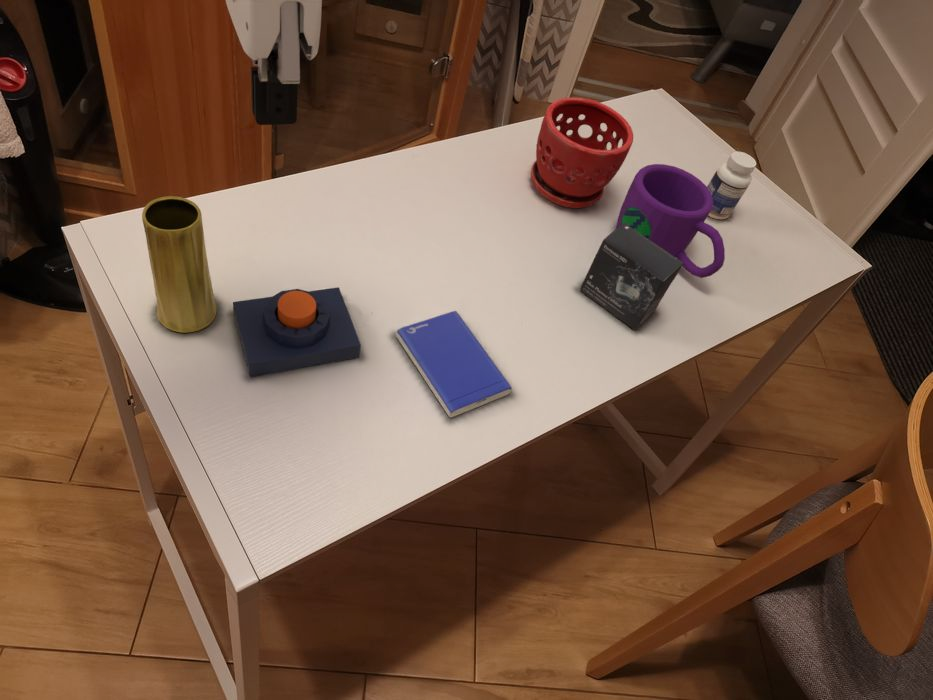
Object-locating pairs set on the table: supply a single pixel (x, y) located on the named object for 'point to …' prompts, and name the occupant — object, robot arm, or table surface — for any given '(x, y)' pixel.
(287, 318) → the orange button
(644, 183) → the mug
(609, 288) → the box
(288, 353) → the button block
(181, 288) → the vase
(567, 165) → the flower pot
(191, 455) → the table surface
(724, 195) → the pill bottle
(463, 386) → the hard drive
